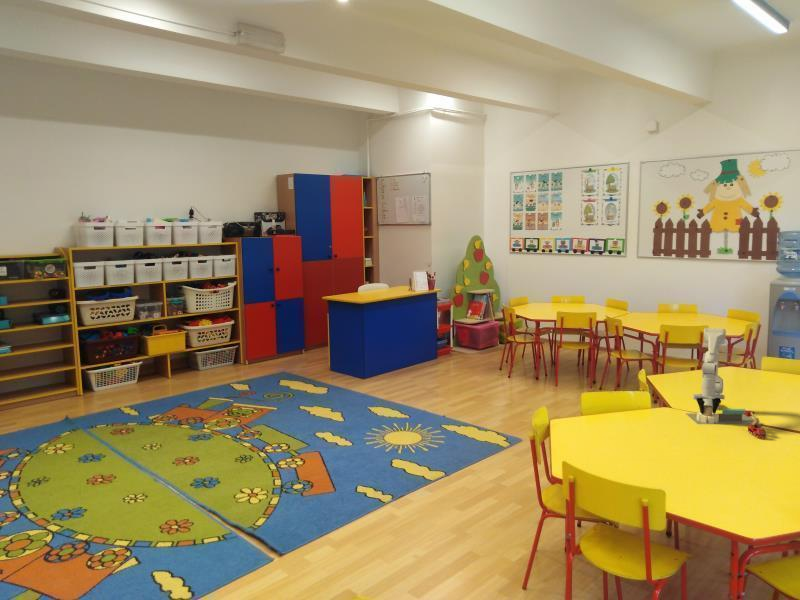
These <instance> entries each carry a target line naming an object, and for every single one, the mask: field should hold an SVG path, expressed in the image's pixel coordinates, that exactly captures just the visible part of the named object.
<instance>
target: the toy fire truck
mask: <svg viewBox="0 0 800 600" xmlns="http://www.w3.org/2000/svg"><path fill="white" fill-rule="evenodd" d="M744 415H746V416H747V417H752V418H753V419H754V421H753V423H752V424H749V426H748V427H747V432H748V433H749V434H751V436H755V437H756V439H760V440H761V439H766V436H767V433H766V429H765V428H763V427H762V428H760V427H759V426H758V425H757V424H758V423H760V419H759V417H757V415H755V411H753V410H750V411H744ZM754 426H755V427H754Z"/></svg>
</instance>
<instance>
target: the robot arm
mask: <svg viewBox="0 0 800 600" xmlns="http://www.w3.org/2000/svg"><path fill="white" fill-rule="evenodd" d="M703 331H704V332H703V339H704V342H705V343H706V344H708V346H707V347H708V348H707V349H708V351H706V352H705V355H704V360H703V363H702V366H701V372H702V383H701V392H702V393H698V394H697V393H695V394H692V399H693V400H696V402H697V404H698V407H699V408H698V409H699V412H701V413H702V414H703V412H704V405H710V406H712V412H713V413H714V414H717V410H719V409H720V404H721V403H722V400H725V398H726V397H725V394H723V392H724V379H723V378H722V377H721V376H720V375H719V374H718V373H719V372H718V371H719V357H720V356H719V355H720V347H721V345H723V344H725V343H726V334H727V333H726V332H727V330H726V329H725V328H716V327H715V328H712V327H705V328H704V329H703Z"/></svg>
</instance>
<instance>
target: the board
mask: <svg viewBox="0 0 800 600" xmlns="http://www.w3.org/2000/svg"><path fill="white" fill-rule="evenodd" d="M685 415H686V416H687V417H688V418H690V419H691V420H692V421H693V422H694V423H696V424H697V425H751V424H752V423H753V421H754V418H753V417H752V416H751V417H747V416H746V415H744V414H723V413H722V412H721V413H720V412H718V413H715V414H714V413H713V412H712V416H705V415H703V414H702V413H701V412H700V411H698V412H697V413H689V412H687V413H685ZM757 425H758V426H759V428H760V427H762V428H763V425H762V423H761V422H759V423H758V424H757ZM754 427H755V426H754Z"/></svg>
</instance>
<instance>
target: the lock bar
mask: <svg viewBox="0 0 800 600" xmlns="http://www.w3.org/2000/svg"><path fill="white" fill-rule="evenodd" d="M744 411H751V410H749V408H722V409H721V413H723V414H744Z"/></svg>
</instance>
